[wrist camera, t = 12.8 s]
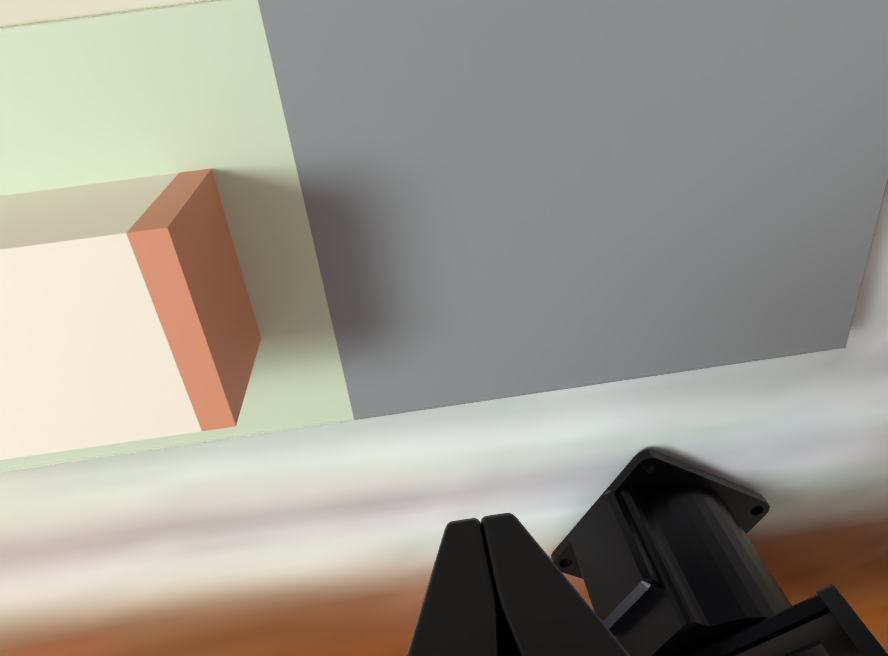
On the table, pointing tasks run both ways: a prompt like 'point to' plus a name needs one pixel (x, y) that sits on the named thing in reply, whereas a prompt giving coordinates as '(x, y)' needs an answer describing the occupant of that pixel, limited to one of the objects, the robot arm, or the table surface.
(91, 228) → the cream block
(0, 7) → the table surface
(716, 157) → the board
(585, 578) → the robot arm
